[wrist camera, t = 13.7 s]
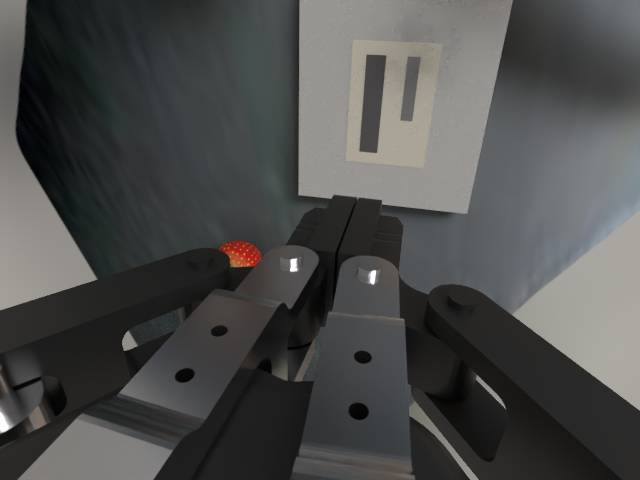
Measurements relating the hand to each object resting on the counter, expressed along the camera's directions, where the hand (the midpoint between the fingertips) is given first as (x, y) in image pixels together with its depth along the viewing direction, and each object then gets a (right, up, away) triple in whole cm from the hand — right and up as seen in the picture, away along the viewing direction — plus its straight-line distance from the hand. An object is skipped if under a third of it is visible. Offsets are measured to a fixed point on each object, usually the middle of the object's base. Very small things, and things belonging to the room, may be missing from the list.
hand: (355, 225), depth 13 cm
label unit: (+5, +12, +24) cm, 27 cm away
